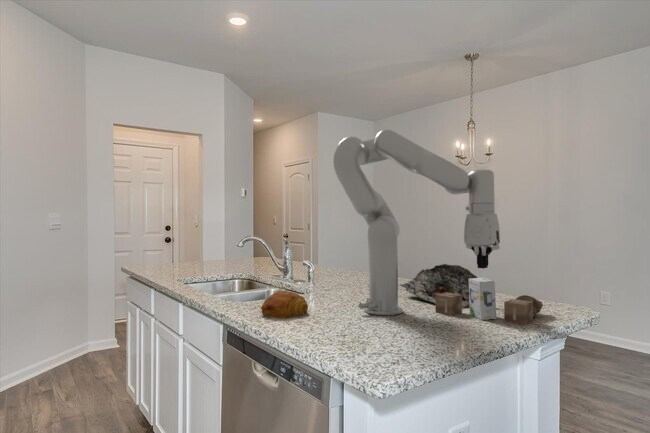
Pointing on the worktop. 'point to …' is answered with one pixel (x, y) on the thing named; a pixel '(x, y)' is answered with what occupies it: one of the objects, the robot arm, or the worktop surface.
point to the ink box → (482, 298)
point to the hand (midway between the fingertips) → (482, 267)
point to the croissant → (284, 305)
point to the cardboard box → (448, 303)
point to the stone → (536, 304)
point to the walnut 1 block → (518, 311)
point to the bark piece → (441, 282)
